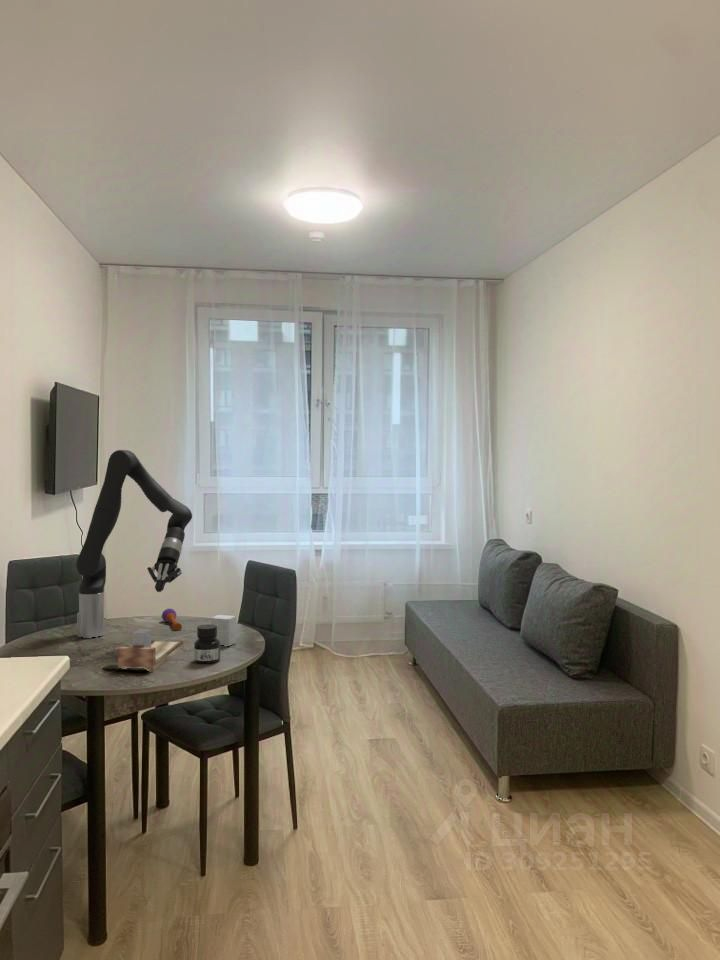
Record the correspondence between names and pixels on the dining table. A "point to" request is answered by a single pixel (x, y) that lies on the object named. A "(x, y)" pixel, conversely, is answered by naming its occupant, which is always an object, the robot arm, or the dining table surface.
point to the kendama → (171, 618)
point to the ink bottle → (207, 645)
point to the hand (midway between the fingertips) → (158, 590)
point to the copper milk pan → (147, 655)
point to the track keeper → (142, 638)
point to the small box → (225, 629)
